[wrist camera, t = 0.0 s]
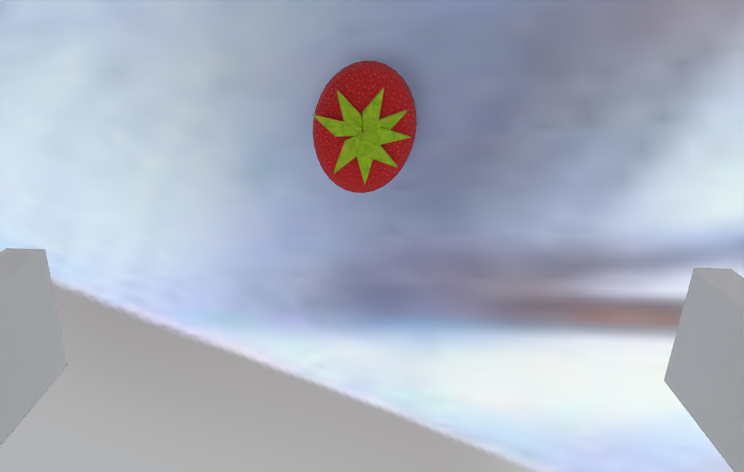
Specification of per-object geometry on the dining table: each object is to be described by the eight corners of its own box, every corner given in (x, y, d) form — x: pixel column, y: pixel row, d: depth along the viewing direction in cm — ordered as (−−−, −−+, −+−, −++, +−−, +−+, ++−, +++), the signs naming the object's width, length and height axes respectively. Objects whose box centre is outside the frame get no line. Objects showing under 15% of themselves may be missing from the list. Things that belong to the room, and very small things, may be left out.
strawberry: (313, 159, 40) (296, 209, 30) (328, 45, 37) (313, 60, 27) (399, 173, 40) (407, 226, 31) (420, 60, 37) (436, 81, 28)
